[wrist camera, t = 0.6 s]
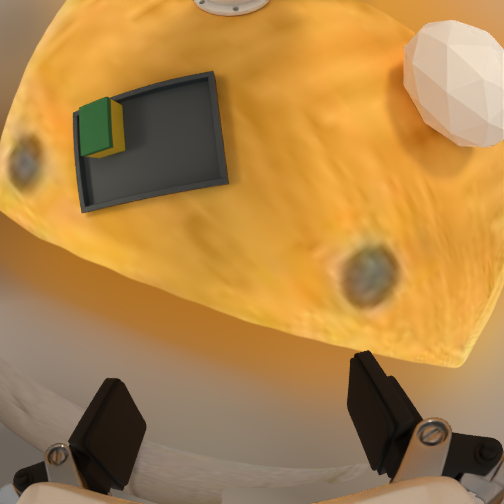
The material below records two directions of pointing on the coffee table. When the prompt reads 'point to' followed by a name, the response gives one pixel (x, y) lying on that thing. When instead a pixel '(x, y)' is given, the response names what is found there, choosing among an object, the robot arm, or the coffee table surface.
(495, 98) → the geometric sphere
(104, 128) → the sponge
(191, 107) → the tray
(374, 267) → the coffee table surface
